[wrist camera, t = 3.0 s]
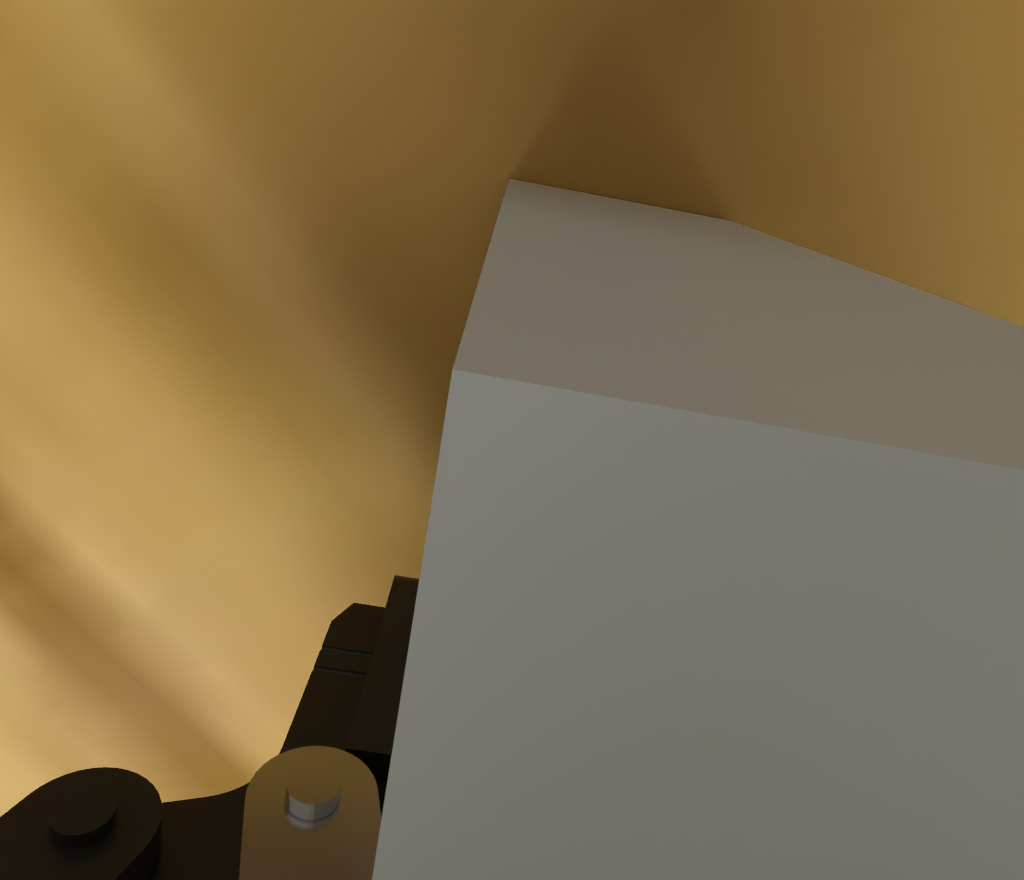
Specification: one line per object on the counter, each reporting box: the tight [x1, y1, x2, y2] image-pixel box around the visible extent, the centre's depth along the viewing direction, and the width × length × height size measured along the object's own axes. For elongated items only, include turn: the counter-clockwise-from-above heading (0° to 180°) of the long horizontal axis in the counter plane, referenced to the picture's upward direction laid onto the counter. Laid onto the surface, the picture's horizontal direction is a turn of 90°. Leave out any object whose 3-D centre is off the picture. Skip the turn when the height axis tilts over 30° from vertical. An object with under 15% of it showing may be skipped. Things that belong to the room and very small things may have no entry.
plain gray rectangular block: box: [372, 178, 1024, 880], centre depth 10 cm, size 4×13×12 cm, turn 170°
